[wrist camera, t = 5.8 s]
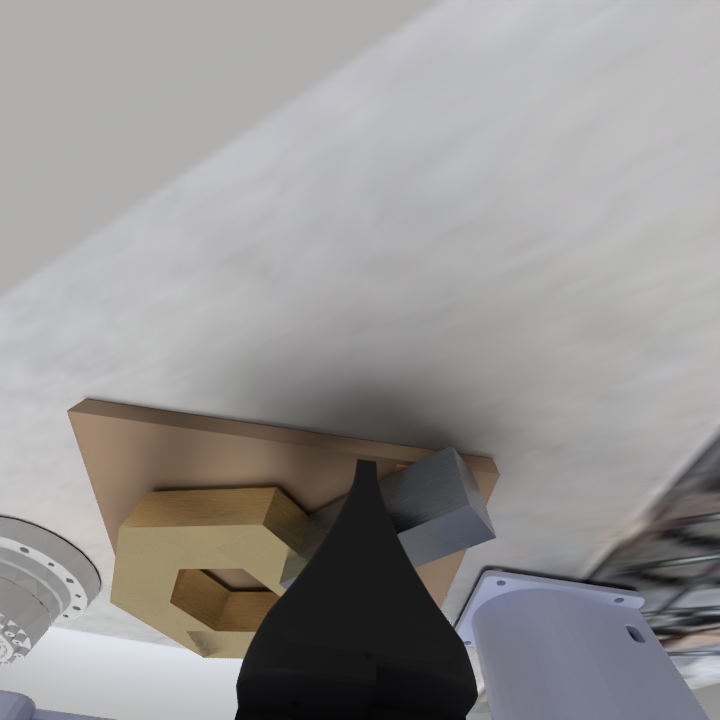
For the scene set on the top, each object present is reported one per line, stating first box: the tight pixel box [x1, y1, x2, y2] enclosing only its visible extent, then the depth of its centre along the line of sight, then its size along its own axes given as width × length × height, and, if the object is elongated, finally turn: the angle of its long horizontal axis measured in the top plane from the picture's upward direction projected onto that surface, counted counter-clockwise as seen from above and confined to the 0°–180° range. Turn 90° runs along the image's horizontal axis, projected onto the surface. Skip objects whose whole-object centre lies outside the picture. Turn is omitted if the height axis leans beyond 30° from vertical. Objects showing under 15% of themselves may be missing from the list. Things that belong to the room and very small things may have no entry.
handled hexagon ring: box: [110, 445, 496, 659], centre depth 15 cm, size 20×13×3 cm
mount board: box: [67, 399, 500, 609], centre depth 18 cm, size 20×16×1 cm
